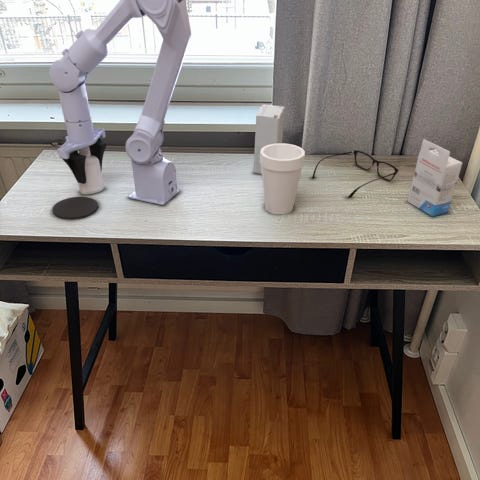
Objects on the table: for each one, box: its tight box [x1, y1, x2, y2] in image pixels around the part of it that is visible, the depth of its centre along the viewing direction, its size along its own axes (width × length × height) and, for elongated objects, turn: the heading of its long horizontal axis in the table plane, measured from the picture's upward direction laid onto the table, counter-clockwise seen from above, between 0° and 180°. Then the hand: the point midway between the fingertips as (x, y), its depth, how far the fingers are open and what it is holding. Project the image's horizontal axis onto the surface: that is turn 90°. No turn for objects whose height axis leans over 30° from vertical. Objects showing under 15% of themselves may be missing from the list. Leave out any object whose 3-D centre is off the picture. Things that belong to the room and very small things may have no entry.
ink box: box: [407, 138, 463, 217], centre depth 110 cm, size 8×5×15 cm, turn 26°
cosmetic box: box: [253, 103, 286, 175], centre depth 125 cm, size 8×6×15 cm
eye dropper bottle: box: [77, 146, 105, 195], centre depth 116 cm, size 4×6×12 cm
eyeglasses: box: [311, 149, 400, 199], centre depth 124 cm, size 16×16×4 cm
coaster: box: [51, 196, 99, 220], centre depth 113 cm, size 10×10×1 cm
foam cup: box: [260, 142, 306, 215], centre depth 109 cm, size 10×9×13 cm
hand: (89, 177), depth 118 cm, fingers closed on eye dropper bottle, 5 cm apart
